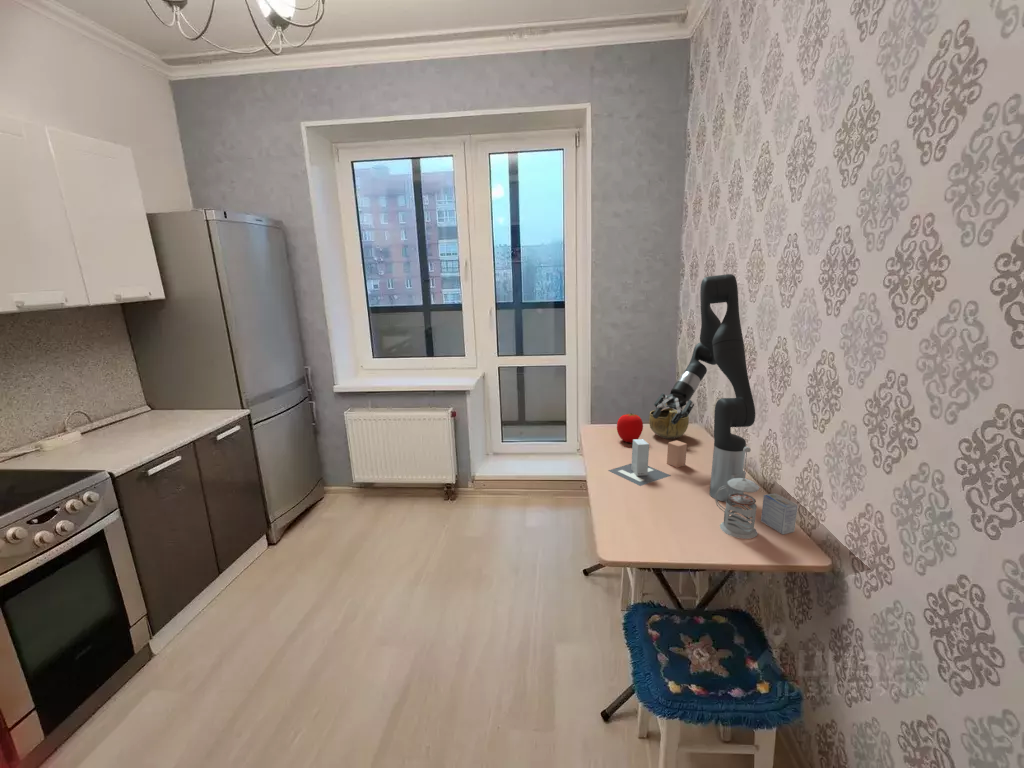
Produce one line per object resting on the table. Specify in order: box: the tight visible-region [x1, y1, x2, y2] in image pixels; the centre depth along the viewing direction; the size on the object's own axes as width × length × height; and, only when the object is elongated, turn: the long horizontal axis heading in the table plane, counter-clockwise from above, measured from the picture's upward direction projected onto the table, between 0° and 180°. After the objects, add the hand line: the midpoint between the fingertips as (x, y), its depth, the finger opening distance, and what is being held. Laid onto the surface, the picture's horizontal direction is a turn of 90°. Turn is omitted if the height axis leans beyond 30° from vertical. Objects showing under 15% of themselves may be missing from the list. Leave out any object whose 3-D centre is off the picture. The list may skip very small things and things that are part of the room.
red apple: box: [616, 413, 644, 444], centre depth 205 cm, size 11×11×13 cm
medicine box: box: [760, 492, 799, 535], centre depth 134 cm, size 8×4×9 cm, turn 17°
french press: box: [714, 446, 760, 540], centre depth 131 cm, size 10×12×25 cm
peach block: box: [666, 440, 688, 469], centre depth 178 cm, size 5×5×9 cm
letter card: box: [607, 462, 672, 487], centre depth 172 cm, size 16×16×1 cm
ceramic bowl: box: [648, 403, 690, 440], centre depth 210 cm, size 22×17×15 cm
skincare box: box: [630, 438, 650, 476], centre depth 171 cm, size 6×4×12 cm
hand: (663, 420), depth 174 cm, fingers open, 8 cm apart
